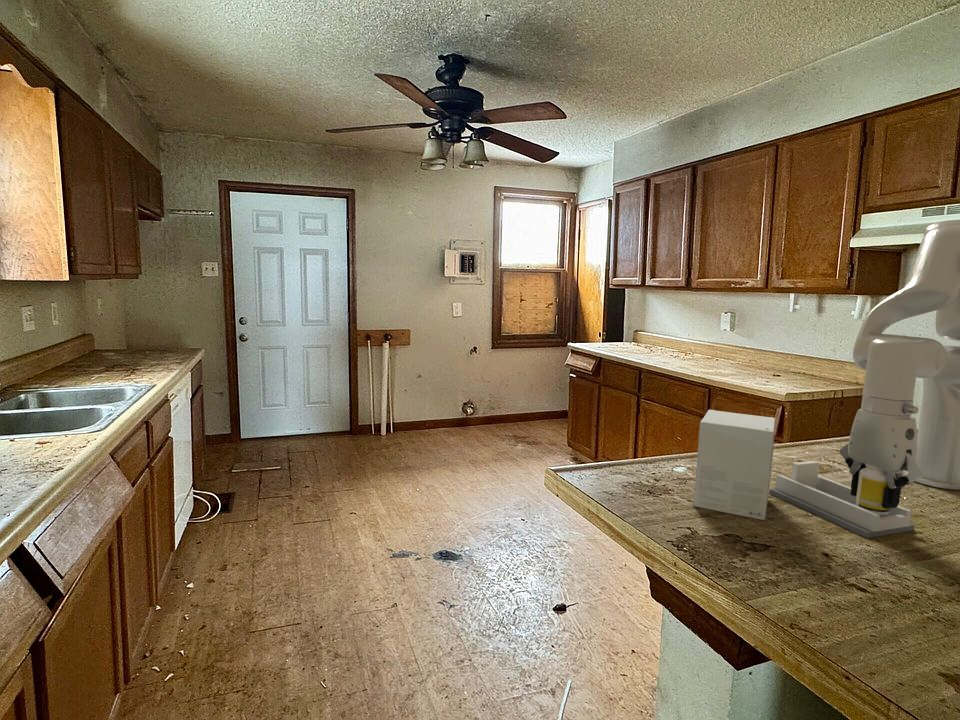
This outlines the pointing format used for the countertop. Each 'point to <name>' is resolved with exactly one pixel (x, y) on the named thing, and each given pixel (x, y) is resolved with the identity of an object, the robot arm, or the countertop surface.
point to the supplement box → (734, 463)
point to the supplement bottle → (872, 489)
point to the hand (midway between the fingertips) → (873, 500)
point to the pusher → (806, 473)
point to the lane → (841, 507)
